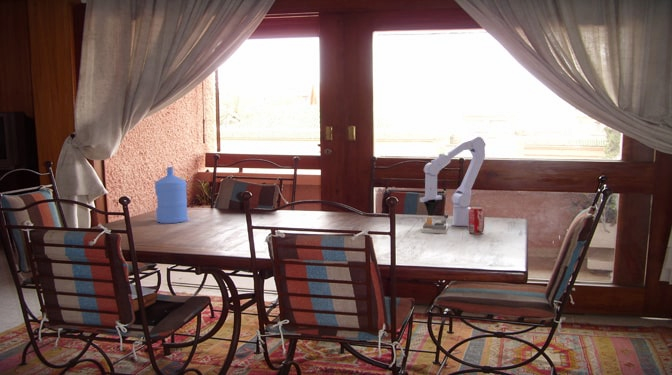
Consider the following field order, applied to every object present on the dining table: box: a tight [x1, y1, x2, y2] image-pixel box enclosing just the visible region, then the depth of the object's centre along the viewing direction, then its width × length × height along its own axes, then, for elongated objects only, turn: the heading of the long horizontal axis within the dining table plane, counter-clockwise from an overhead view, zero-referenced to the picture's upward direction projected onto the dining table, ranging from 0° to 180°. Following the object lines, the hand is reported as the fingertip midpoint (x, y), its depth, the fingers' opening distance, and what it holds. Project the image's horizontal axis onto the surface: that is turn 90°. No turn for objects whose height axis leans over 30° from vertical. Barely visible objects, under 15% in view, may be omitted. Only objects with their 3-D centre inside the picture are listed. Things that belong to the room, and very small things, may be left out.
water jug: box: [154, 166, 189, 224], centre depth 322 cm, size 16×16×28 cm
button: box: [435, 221, 444, 226], centre depth 291 cm, size 4×4×2 cm
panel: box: [421, 219, 449, 234], centre depth 296 cm, size 11×17×4 cm, turn 166°
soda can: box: [467, 205, 485, 235], centre depth 286 cm, size 7×7×12 cm
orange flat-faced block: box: [426, 217, 433, 226], centre depth 299 cm, size 2×3×3 cm
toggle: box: [442, 213, 449, 222], centre depth 299 cm, size 2×2×5 cm
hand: (430, 215), depth 304 cm, fingers closed
